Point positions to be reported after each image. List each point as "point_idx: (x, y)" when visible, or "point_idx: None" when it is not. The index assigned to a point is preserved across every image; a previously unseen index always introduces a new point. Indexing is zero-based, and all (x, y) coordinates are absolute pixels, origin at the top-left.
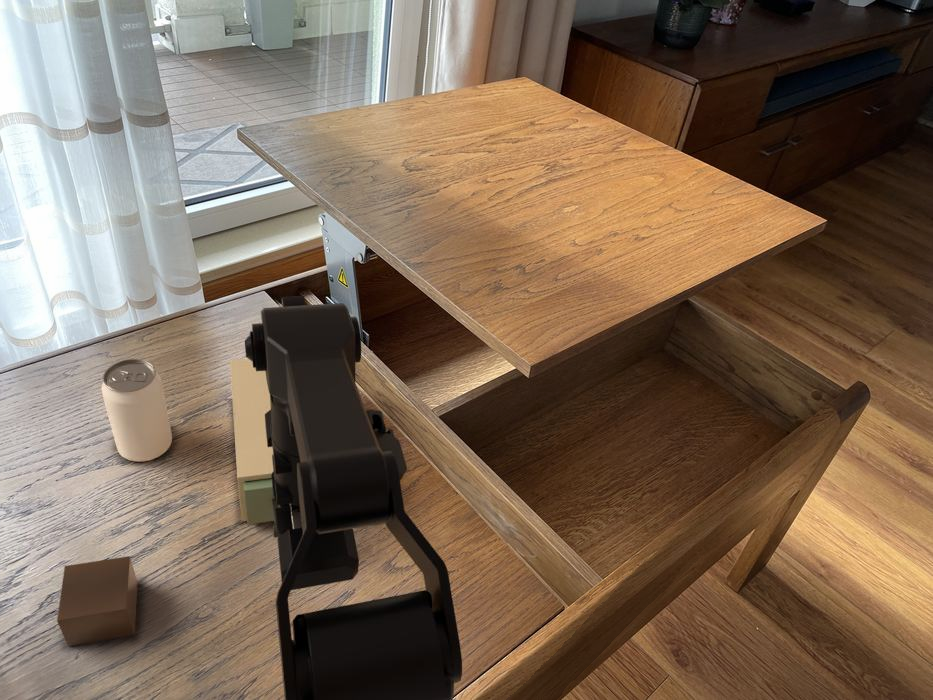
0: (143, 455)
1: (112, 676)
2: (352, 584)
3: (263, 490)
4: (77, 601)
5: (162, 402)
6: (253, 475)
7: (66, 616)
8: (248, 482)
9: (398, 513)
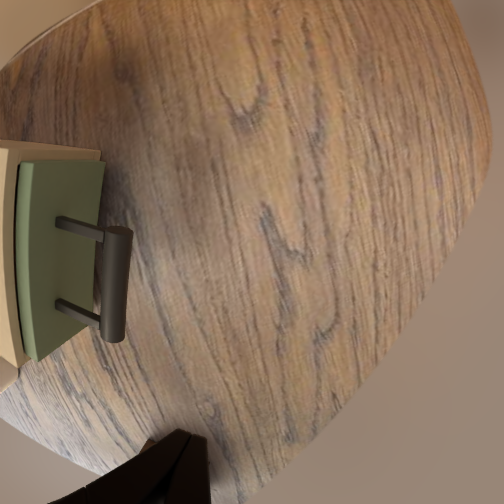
0: (11, 373)
1: (248, 482)
2: (251, 203)
3: (38, 333)
4: None
5: None
6: (12, 346)
7: None
8: (25, 349)
9: None
